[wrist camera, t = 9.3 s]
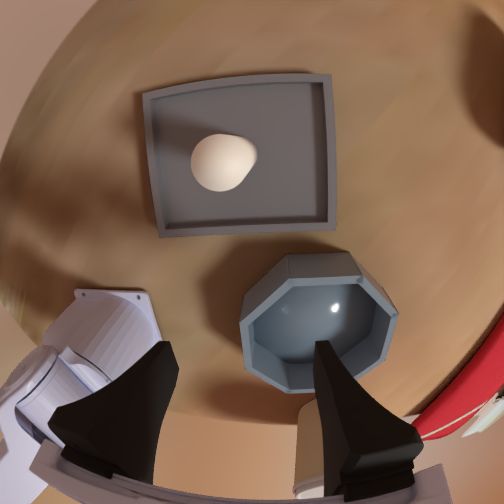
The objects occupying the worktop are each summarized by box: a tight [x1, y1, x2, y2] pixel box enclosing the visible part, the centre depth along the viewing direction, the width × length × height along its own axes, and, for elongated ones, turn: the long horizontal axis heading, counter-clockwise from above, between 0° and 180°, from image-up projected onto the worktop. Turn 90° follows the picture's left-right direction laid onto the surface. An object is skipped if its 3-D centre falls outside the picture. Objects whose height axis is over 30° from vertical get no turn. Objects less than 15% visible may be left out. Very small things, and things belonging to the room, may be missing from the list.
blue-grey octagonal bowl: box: [239, 252, 399, 394], centre depth 22 cm, size 12×12×4 cm
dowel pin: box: [191, 134, 258, 191], centre depth 14 cm, size 2×2×8 cm
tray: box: [142, 73, 337, 238], centre depth 18 cm, size 13×11×2 cm
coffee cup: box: [293, 399, 324, 499], centre depth 24 cm, size 9×9×12 cm
